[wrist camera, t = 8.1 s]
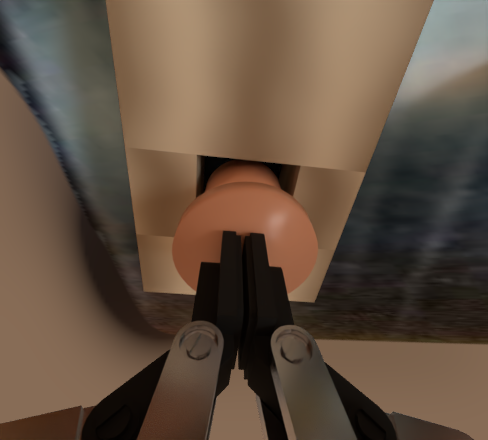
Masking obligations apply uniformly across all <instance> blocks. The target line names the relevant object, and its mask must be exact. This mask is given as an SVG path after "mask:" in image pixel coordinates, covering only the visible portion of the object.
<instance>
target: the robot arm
mask: <svg viewBox="0 0 488 440" xmlns="http://www.w3.org/2000/svg"><path fill="white" fill-rule="evenodd" d="M237 351H238V367H239V369H241V370H244V379H248V386H249V387H250V388H251V389H252V390H253V391H254V392H255V393H256V402H257V407H258V412H259V418H260V423H261V428H262V433H263V439H264V440H474V439H472V438H471V437H470V436H469V435H467V434H465V433H463V432H460V431H459V430H456V429H452V428H449V427H445V426H442V425H438V424H435V423H431V422H428V421H424V420H421V419H417V418H414V417H410V416H406V415H403V414H399V413H396V412H392V413H391V414H388V413H385V412H383V410H381V409H380V407H379V406H377V405H376V404H375V403H374V402H373V401H371V400H370V399H369V398H368V397H366V396H365V395H364V394H363V393H362V392H360V391H359V390H358V389H357V388H355V387H354V386H353V385H352V384H350V382H348V381H347V380H346V379H345V378H343V377H342V376H341V375H340V374H339V373H337V372H336V371H335V370H334V369H333V368H331V367H330V366H329V365H327V363H325V362H324V360H323V358H322V355H321V353H320V350H319V348H318V346H317V344H316V342H315V340H314V338H313V337H312V336H311V335H310V334H309V333H308V332H307V331H306V330H304V329H302V328H301V327H298V326H295V325H294V323H293V318H292V313H291V308H290V304H289V299H288V294H287V289H286V284H285V280H284V275H283V271H282V268H281V267H274V266H269V261H268V254H267V248H266V241H265V235H264V234H262V233H250V236H245V239H244V246H243V252H242V243H241V235H236V231H224V230H223V234H222V245H221V256H220V263H214V262H201V264H200V271H199V277H198V283H197V290H196V296H195V303H194V309H193V316H192V322H190V323H188V324H187V325H185V326H183V327H182V328H181V329H180V330H179V331H178V333H177V335H176V336H175V338H174V341H173V344H172V347H171V349H170V350H168V351H167V352H166V353H164V354H163V355H162V356H161V357H159V358H158V359H156V360H155V361H154V362H152V363H151V364H150V365H148V366H147V367H146V368H144V369H143V370H142V371H141V372H139V373H138V374H136V375H135V376H134V377H132V378H131V379H130V380H128V381H127V382H126V383H124V384H123V385H122V386H120V387H119V388H118V389H116V390H115V391H114V392H112V393H111V394H110V395H108V396H107V397H106V398H104V399H103V400H102V401H101V402H100V403H99V404H98V405H96V406H92V407H87V408H82V406H78V407H73V408H68V409H64V410H59V411H55V412H51V413H46V414H41V415H38V416H33V417H28V418H24V419H19V420H15V421H10V422H6V423H1V424H0V440H209V437H210V431H211V426H212V421H213V415H214V409H215V405H216V398H217V396H218V395H219V394H220V393H221V392H222V391H223V390H224V389H225V388H226V387H227V386H228V385H229V380H230V374H231V369H234V367H235V361H236V356H237Z"/></svg>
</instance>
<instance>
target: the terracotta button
mask: <svg viewBox="0 0 488 440" xmlns="http://www.w3.org/2000/svg"><path fill="white" fill-rule="evenodd" d="M223 230H224V231H236V235H241V243H242V252H243V246H244V239H245V236H250V233H262V234H264V235H265V241H266V248H267V254H268V261H269V266H274V267H281V268H282V271H283V275H284V280H285V284H286V289H287V294H289V293H290V292H292V291H293V290H295V289H296V288H297V287H299V286H300V285H301V284H302V283H303V282H304V281H305V280H306V279H307V277H308V276H309V275H310V273H311V271H312V270H313V268H314V265H315V263H316V260H317V255H318V241H317V237H316V234H315V231H314V229H313V226H312V224H311V221H310V219H309V217H308V215H307V213H306V211H305V210H304V208H303V207H302V205H301V204H300V203H299V202H298V201H297V200H296V199H295V198H293V197H292V196H291V195H290V194H288V193H286V192H285V191H283V190H281V187H280V184H279V181H278V178H277V177H276V175H275V174H274V172H273V171H272V170H271V169H270V168H269V167H267V166H266V165H264V164H263V163H261V162H258V161H252V160H242V159H236V160H231V161H229V162H226V163H224V164H222V165H221V166H219V167H218V168H217V169H216V170H215V171H214V172H213V173H212V174H211V176H210V177H209V179H208V182H207V185H206V189H205V192H204V193H203V194H201V195H200V196H198V197H197V198H196V199H195V200H194V201H192V202H191V203H190V205H189V206H188V207H187V208H186V209H185V211H184V213H183V214H182V216H181V219H180V221H179V224H178V227H177V230H176V233H175V236H174V240H173V244H172V256H173V261H174V265H175V267H176V269H177V271H178V273H179V275H180V276H181V278H182V279H183V280H184V281H185V282H186V284H187V285H189V286H190V287H191V288H192V289H193V290H195V291H196V290H197V283H198V277H199V271H200V264H201V262H214V263H220V256H221V245H222V234H223Z"/></svg>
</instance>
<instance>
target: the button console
mask: <svg viewBox="0 0 488 440" xmlns="http://www.w3.org/2000/svg"><path fill="white" fill-rule="evenodd" d="M433 1H434V0H106V7H107V15H108V22H109V30H110V37H111V45H112V53H113V60H114V68H115V76H116V83H117V91H118V98H119V106H120V114H121V121H122V129H123V137H124V144H125V152H126V159H127V167H128V175H129V182H130V190H131V198H132V205H133V213H134V220H135V228H136V236H137V243H138V251H139V259H140V266H141V274H142V281H143V289H144V291H145V292H161V293H176V294H192V295H196V291H195V290H193V289H192V288H191V287H190V286H189V285H187V284H186V282H185V281H184V280H183V279H182V278H181V276H180V275H179V273H178V271H177V269H176V267H175V265H174V261H173V256H172V244H173V240H174V236H175V233H176V230H177V227H178V224H179V221H180V219H181V216H182V214H183V213H184V211H185V209H186V208H187V207H188V206H189V205H190V203H191V202H192V201H194V200H195V199H196V198H197V197H198V196H200V195H201V194H203V193H204V168H205V156H214V157H223V158H233V159H242V160H252V161H261V162H271V163H280V164H282V167H281V171H280V176H279V184H280V187H281V190H283V191H285V192H286V193H288V194H290V195H291V196H292V197H293V198H295V199H296V200H297V201H298V202H299V203H300V204H301V205H302V207H303V208H304V210H305V211H306V213H307V215H308V217H309V219H310V221H311V224H312V226H313V229H314V231H315V234H316V237H317V241H318V255H317V260H316V263H315V265H314V268H313V270H312V271H311V273H310V275H309V276H308V277H307V279H306V280H305V281H304V282H303V283H302V284H301V285H300V286H299V287H297V288H296V289H295V290H293V291H292V292H290V293H289V294H288V299H289V301H301V302H315V299H316V297H317V294H318V292H319V289H320V287H321V284H322V282H323V279H324V277H325V274H326V272H327V269H328V267H329V264H330V261H331V259H332V256H333V254H334V251H335V249H336V246H337V244H338V241H339V239H340V236H341V234H342V231H343V229H344V226H345V224H346V221H347V218H348V216H349V213H350V211H351V208H352V206H353V203H354V201H355V198H356V196H357V193H358V191H359V188H360V186H361V183H362V181H363V178H364V175H365V173H366V170H367V168H368V165H369V163H370V160H371V158H372V155H373V153H374V150H375V148H376V145H377V143H378V140H379V138H380V135H381V132H382V130H383V127H384V125H385V122H386V120H387V117H388V115H389V112H390V110H391V107H392V105H393V102H394V100H395V97H396V95H397V92H398V89H399V87H400V84H401V82H402V79H403V77H404V74H405V72H406V69H407V67H408V64H409V62H410V59H411V57H412V54H413V52H414V49H415V46H416V44H417V41H418V39H419V36H420V34H421V31H422V29H423V26H424V24H425V21H426V19H427V16H428V14H429V11H430V9H431V6H432V3H433Z"/></svg>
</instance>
